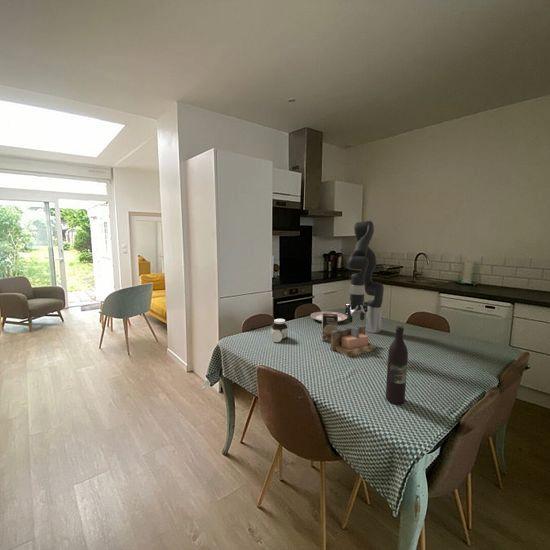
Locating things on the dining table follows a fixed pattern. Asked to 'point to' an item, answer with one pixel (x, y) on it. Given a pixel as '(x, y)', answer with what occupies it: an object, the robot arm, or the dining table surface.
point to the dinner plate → (319, 314)
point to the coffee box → (328, 325)
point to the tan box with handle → (354, 340)
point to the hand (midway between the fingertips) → (356, 321)
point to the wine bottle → (397, 369)
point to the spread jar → (279, 330)
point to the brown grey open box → (338, 334)
